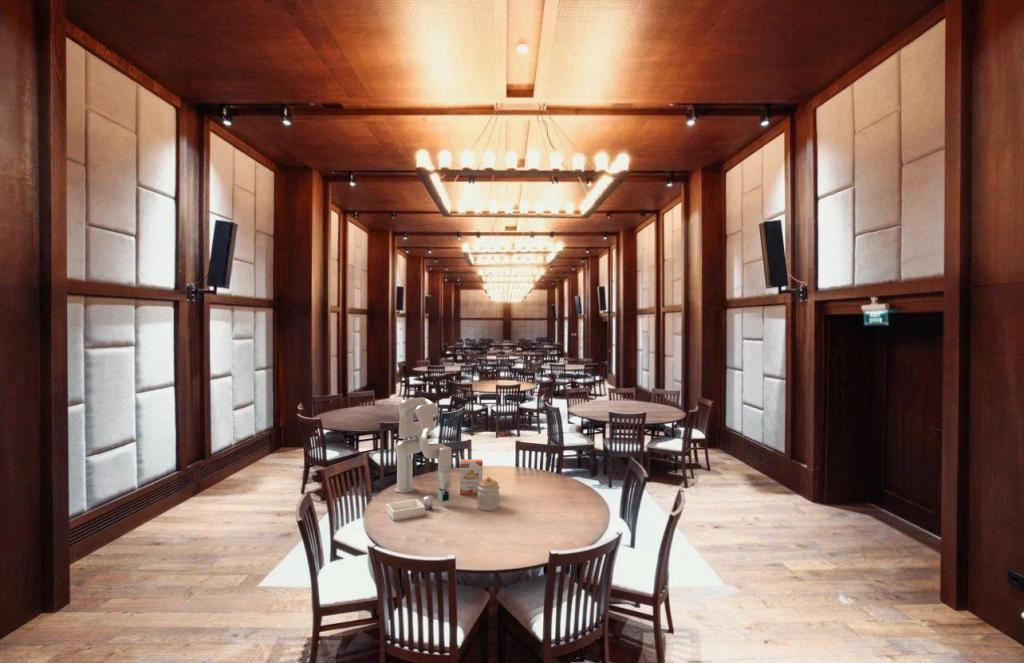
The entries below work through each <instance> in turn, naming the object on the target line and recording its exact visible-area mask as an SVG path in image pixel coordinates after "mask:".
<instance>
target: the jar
mask: <svg viewBox="0 0 1024 663" xmlns="http://www.w3.org/2000/svg"><path fill="white" fill-rule="evenodd" d="M500 487H501V486H500V485H499V482H498V481H497V480H496V479H492V478H491V477H490V476H488V477H486V478H484V479H482V481H481V482H479V486H478V487H477V488H478V492H477V494H476V495H477V503H476V506H477V509H478V510H480V511H487V512H491V511H496V510H498V509H499V508H500V505H501V504H500V494H501V492H500V491H499V490H500V489H501V488H500Z"/></svg>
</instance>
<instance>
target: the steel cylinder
mask: <svg viewBox="0 0 1024 663" xmlns="http://www.w3.org/2000/svg"><path fill="white" fill-rule="evenodd" d="M433 500H434V497H433V495H425V496H423V505H424V506H425V512H426V511H427V512H428V511H429V512H430V511H432V510H433V507H434V506H433V504H434V503H433Z"/></svg>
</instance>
